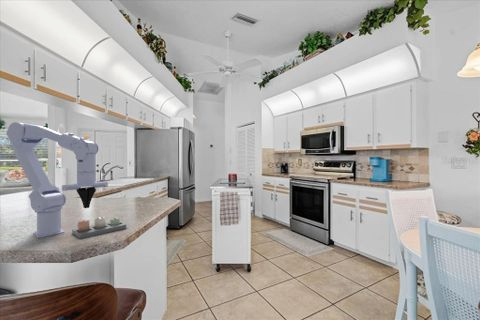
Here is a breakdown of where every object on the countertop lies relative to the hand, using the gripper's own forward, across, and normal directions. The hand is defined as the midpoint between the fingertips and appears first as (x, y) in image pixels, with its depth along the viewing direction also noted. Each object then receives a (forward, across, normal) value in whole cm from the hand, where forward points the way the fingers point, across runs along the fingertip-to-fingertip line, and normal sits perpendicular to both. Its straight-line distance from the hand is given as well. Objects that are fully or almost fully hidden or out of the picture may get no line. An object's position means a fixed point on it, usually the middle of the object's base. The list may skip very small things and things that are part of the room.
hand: (86, 207), depth 88 cm
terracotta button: (+8, -1, 0) cm, 8 cm away
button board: (+10, +5, 0) cm, 11 cm away
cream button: (+8, +5, 0) cm, 9 cm away
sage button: (+10, +10, 0) cm, 14 cm away
